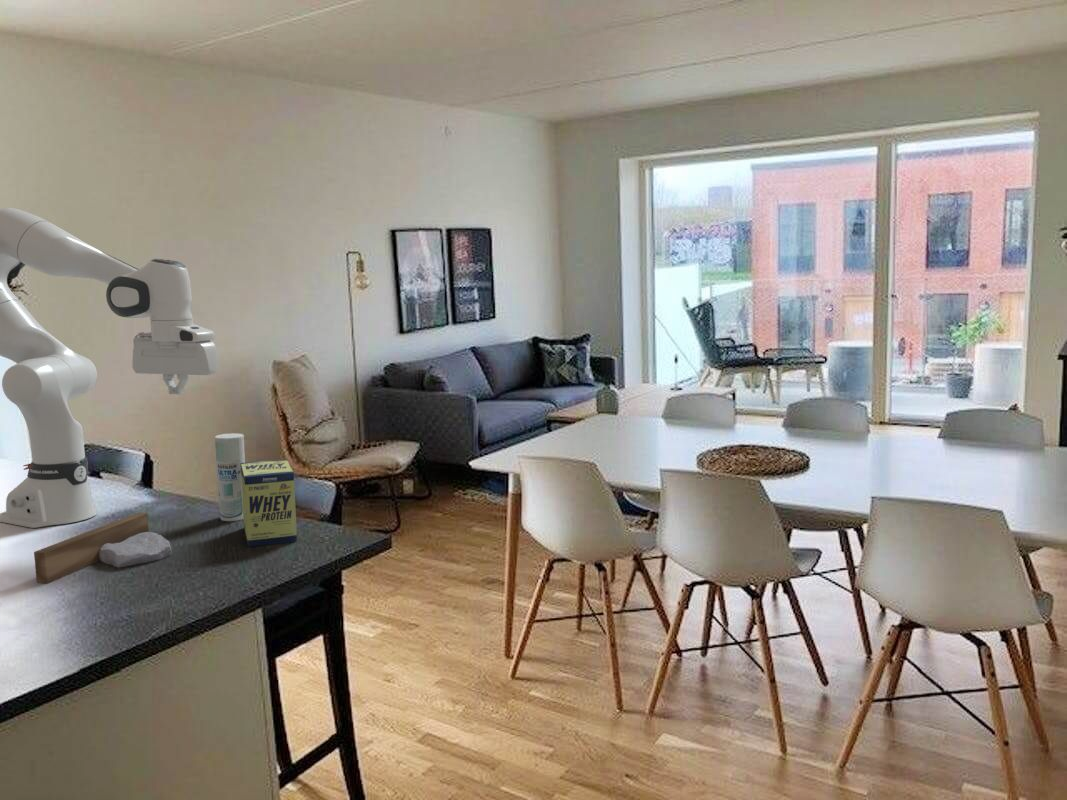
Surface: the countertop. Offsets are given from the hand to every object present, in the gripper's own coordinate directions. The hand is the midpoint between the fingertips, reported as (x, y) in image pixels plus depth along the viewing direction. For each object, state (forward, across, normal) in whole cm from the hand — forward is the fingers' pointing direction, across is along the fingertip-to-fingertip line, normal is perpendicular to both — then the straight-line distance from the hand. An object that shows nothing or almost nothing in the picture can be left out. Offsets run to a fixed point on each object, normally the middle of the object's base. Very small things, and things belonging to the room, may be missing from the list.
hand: (176, 394), depth 194 cm
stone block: (+32, +4, -21) cm, 38 cm away
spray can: (+31, +6, +10) cm, 33 cm away
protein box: (+31, +22, 0) cm, 38 cm away
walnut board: (+31, -3, -24) cm, 39 cm away
